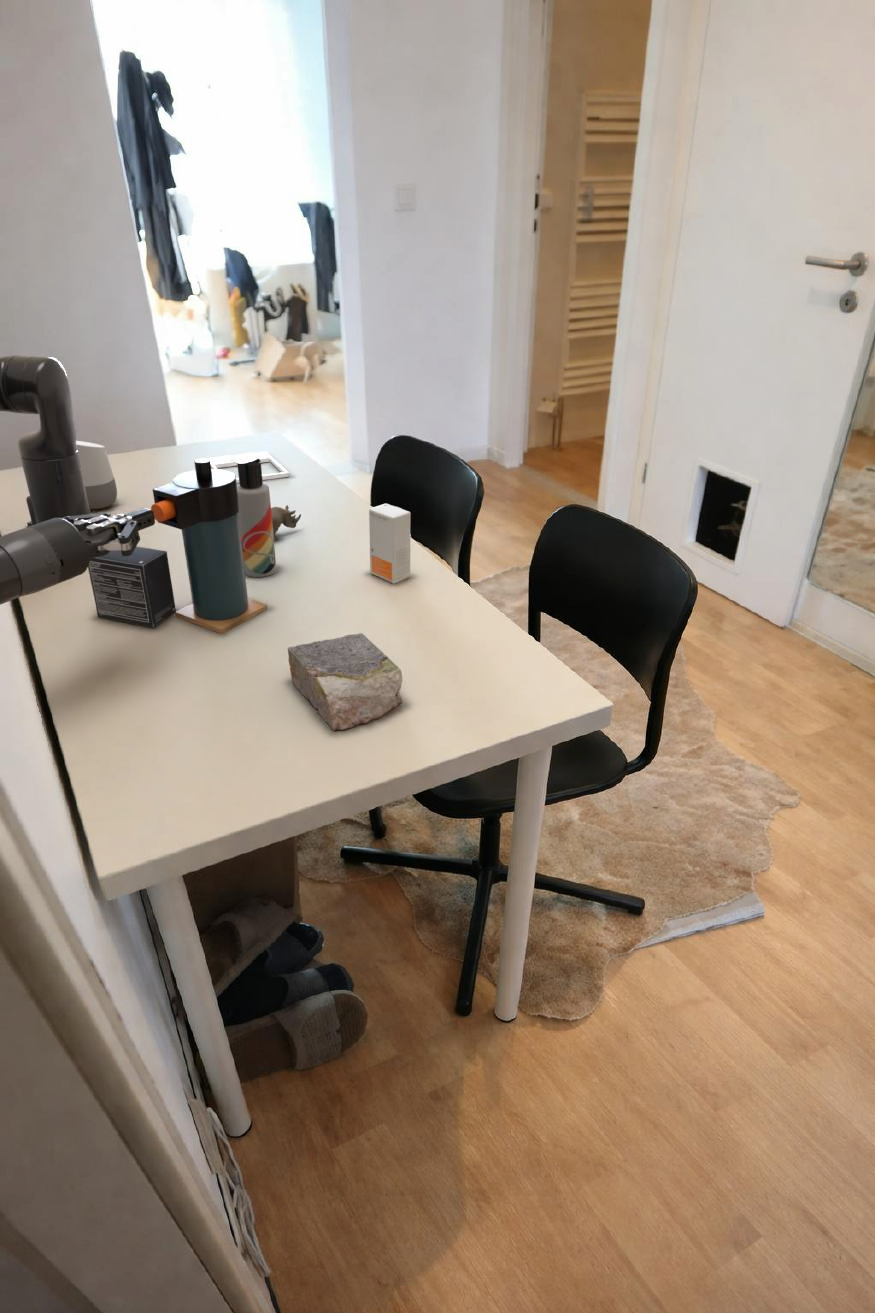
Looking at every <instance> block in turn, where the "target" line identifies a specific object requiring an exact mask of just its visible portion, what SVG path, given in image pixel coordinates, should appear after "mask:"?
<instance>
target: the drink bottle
mask: <svg viewBox="0 0 875 1313" xmlns="http://www.w3.org/2000/svg"><path fill="white" fill-rule="evenodd" d="M193 463H194V470H188V471H185V472H181V473H179V474H177V475H175V476H174V477H173V479H172V482H169V483H166V484H164V485H161V486H159V487H154V488H152V494H153V495H152V496H153V502H154V504H155V503H158V502H161V501H163V500H166V499H170V500H174V506H175V512H176V517H173V518H171V519H168V520H165V521H163V522H158V521H157V523H159V524H162V525H165V526H169V527H172V528H174V529H178V530H181V535H182V541H183V549H184V555H185V562H186V570H187V574H188V575H187V576H188V582H189V588H190V597H191V602H192V603H193V610H194V613H195V614H196V615H197V616H198V617H200V618H202V619H206V620H227V619H232V618H235V617H238V616H240V615H242V614H243V613H245V612H246V611H247V609H248V606H249V604H248V598H249V597H248V587H247V578H246V574H245V568H244V559H243V550H242V541H241V532H240V523H239V514H238V512H239V502H238V492H237V485H238V483H236V478H237V476H236V474H235V473H233V472H232V471H228V470H225V469H220V468H217V469H211V463H210V459H206V458H205V457H204V458H203V457H201V458H197V459H195V460H194V462H193ZM192 603H191V604H192Z"/></svg>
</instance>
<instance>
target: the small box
mask: <svg viewBox="0 0 875 1313" xmlns="http://www.w3.org/2000/svg"><path fill="white" fill-rule="evenodd" d="M168 558H169V557H168V550H163V549H156V548H150V547H149V548H148V547H143V546H138V545H137V546H136V548H135V550H134V551H133V553H132V555H130V556H122V552H120V550H117V551H110V552H109V553H108V554H107V555H104V556H100V557H95V558H92V559H91V560H90V562H89V565H88V567H87V570H88V574H89V579H90V585H91V590H92V593H93V598H94V604H95V608H96V614H97V615H96V616H97V618H100V619H104V620H105V619H106V620H110V621H114V622H119V623H120V622H121V623H125V624H132V625H136V626H141V627H147V628H151V629H154V628H156V627H157V626H158V625H160V624H161V623H162V622H164V621H166V620H167V619H168V618H169V617H171V616H173V615H175V612H176V611H177V609H176V602H175V595H174V590H173V584H172V583H173V582H172V577H171V571H170V564H169V563H170V562H169V559H168Z"/></svg>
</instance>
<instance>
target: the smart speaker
mask: <svg viewBox="0 0 875 1313" xmlns="http://www.w3.org/2000/svg"><path fill="white" fill-rule="evenodd" d="M76 446H77V451H78V455H79V460H80V465H81V469H82V474H83V479H84V484H85V489H86V494H87V499H88V503H89V508H90V512H96V511H97V512H98V511H102V510H106V509H108V508H110V507H112V506H114V504H115V503H116V501H117V498H118V489H117V488H118V487H117V483H116V479H115V475H114V472H113V469H112V466H111V463H110V459H109V456H108V452H107V450H106V447H105V445H102V444H99V443H93V442H90V441H89V442H88V441H81V440H76Z"/></svg>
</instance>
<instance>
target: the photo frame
mask: <svg viewBox="0 0 875 1313" xmlns="http://www.w3.org/2000/svg"><path fill="white" fill-rule="evenodd" d="M246 457H258V458H259V459H260V461H261V464H262V463H269V462H270V463H271V464H272V465H273V466H274V467H275V468H276V469H277V470H278V471H279V472H275V473H267V474H262V480H263V481H266V480H274V479H281V478H288V477H290V472H289V471H288V470H287V469H286V468H285V467H283V465H281V463H280V462H278V460H276V459H275V458H274V457H273V456H272V455H271V454H269V452H268V451H257V452H247V453H241V454H232V455H223V456H215V457H207V458H206V459H210V463H211V469H220V468H229V467H236V466H237V462H238V461H239V460H241V459H243V458H246ZM236 483H237V484H239V477H236Z"/></svg>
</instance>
